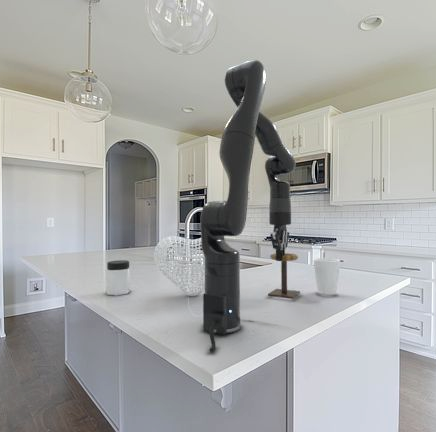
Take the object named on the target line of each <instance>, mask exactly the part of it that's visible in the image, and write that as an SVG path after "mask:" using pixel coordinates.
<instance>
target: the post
mask: <svg viewBox="0 0 436 432" xmlns="http://www.w3.org/2000/svg"><path fill="white" fill-rule="evenodd" d="M280 271H281V272H280V273H281V274H280V275H281V277H280V278H281V280H280V281H281V285H280V287H281V288H276V289H274V290H272V291H270V292H269V293H267V296H269V297H276V298H284V299H291V300H293V299H295V298H296V297H297V296H298V295H300V294H301V291H300V290H292V289H288V261H280Z"/></svg>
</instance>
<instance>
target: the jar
mask: <svg viewBox="0 0 436 432" xmlns="http://www.w3.org/2000/svg"><path fill="white" fill-rule="evenodd" d="M105 273H106V295H108V296H116V297H117V296H121V295H123V296H124V295H128V294H129V293H130V291H131V267H130V261H129V260H124V259H123V260H121V259H120V260H118V259H117V260H111V261H107V263H106V272H105Z"/></svg>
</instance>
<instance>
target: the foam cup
mask: <svg viewBox="0 0 436 432" xmlns="http://www.w3.org/2000/svg"><path fill="white" fill-rule="evenodd" d="M313 267H314V268H313V269H314V275H315V282H316V283H315V284H316V291H317V293H318V294H320V295H327V296H329V295H330V296H333V295H337V292H338V291H337V290H338V284H339V283H338V282H339V275H340V269H341V259H338V258H331V257H330V258H328V257H316V258H313Z"/></svg>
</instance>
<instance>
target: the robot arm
mask: <svg viewBox="0 0 436 432" xmlns="http://www.w3.org/2000/svg"><path fill="white" fill-rule="evenodd" d="M266 74H267V73H266V70H265V66H264V64H263V63H262V62H261V61H260V60H257V59H252V60H247V61H245V62H242V63H240V64H237V65H235V66H232V67H230V68H228V69H227V70H226V71H225V73H224V86H225V88H226V91H227V94H228V95H229V96H230V98H231V100H232V101H233V103H234V105H235V107H237V108H236V109H235V111H234V113H233V114H232V115H231V116H230V118H229V120H228V121H227V123H226V124H225V126H224V128H223V130H222V134H221V139H220V144H219V152H218V154H219V159H220V162H221V165H222V167H223V169H224V171H225V174H226V176H227V179H228V195H227V198H226V200H212V201H208V202H206V203H205V204H204V205H203V207H202V209H201V212H200V238H201V241H202V242H201V243H202V245H201V246H202V248H201V251H203V252H202V255H203V254H204V258H205V266H204V268H205V269H204V270H205V271H204V273H205V275H204V277H205V289H204V292H203V294H202V309H203V310H202V322H203V323H202V327H203V329H202V331H203V332H208V333H209V338H210V344H211V345H210V348H209V350H208V351H209V352H210V353H213V352H214V351H215V349H216V340H215V334H217V335H222V336H225V335H227V334H232V333H235V332H237V331H239V330H240V329H241V290H240V289H241V283H240V282H241V278H240V277H241V276H240V275H241V274H240V273H241V269H240V268H241V261H240V260H241V259H240V257H241V255H240V252H239V250H237V249H235V248H234V247H232V246H231V245H229V244H228V242H227V241H226V239H225V237H238V236H240V235H241V234H242V233H243V232H244V230H245V227H246V223H247V214H248V197H249V196H248V195H249V182H250V181H249V180H250V173H251V166H252V160H253V155H254V149H255V143H256V142H255V141H256V140H257V142H258V145H259V146H260V148H261V151H262V153H263V154H264V155H266V156H268V157H267V158H266V160H265V162H264V169H265V173H266V176H267V181H268V185H269V204H268V205H269V213H268V214H269V215H268V217H269V225H271V226H273V231H272V232H271V233H270V235H269V236H270V241H271V245H272V249H274V251H275V253H276V260H275V261H276V262H281V261H282V260H283V256H285V253H286V248H288V243H289V237H290V232H289V231H288V230H287V226H291V225H292V201H291V185H290V183H289V182H288V181H284V180H280V178H279V176H284V175H291V174H292V173H294V171H295V170H296V159H295V157H294V155H293V154H292V153H291V151H290V150H289V149H288V148H287V146H286V145H285V144H284V142H283V141H282V139H281V136H280V134H279V131H278V129H277V127H276V126H275V124H274V123H273V121H271V119H270V118H268V117H267V116H266V115H265V114H264V113H263V112H261V111H260V109H261V106H262V102H263V97H264V94H265V89H266V83H267V75H266ZM225 241H226V242H225Z"/></svg>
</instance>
